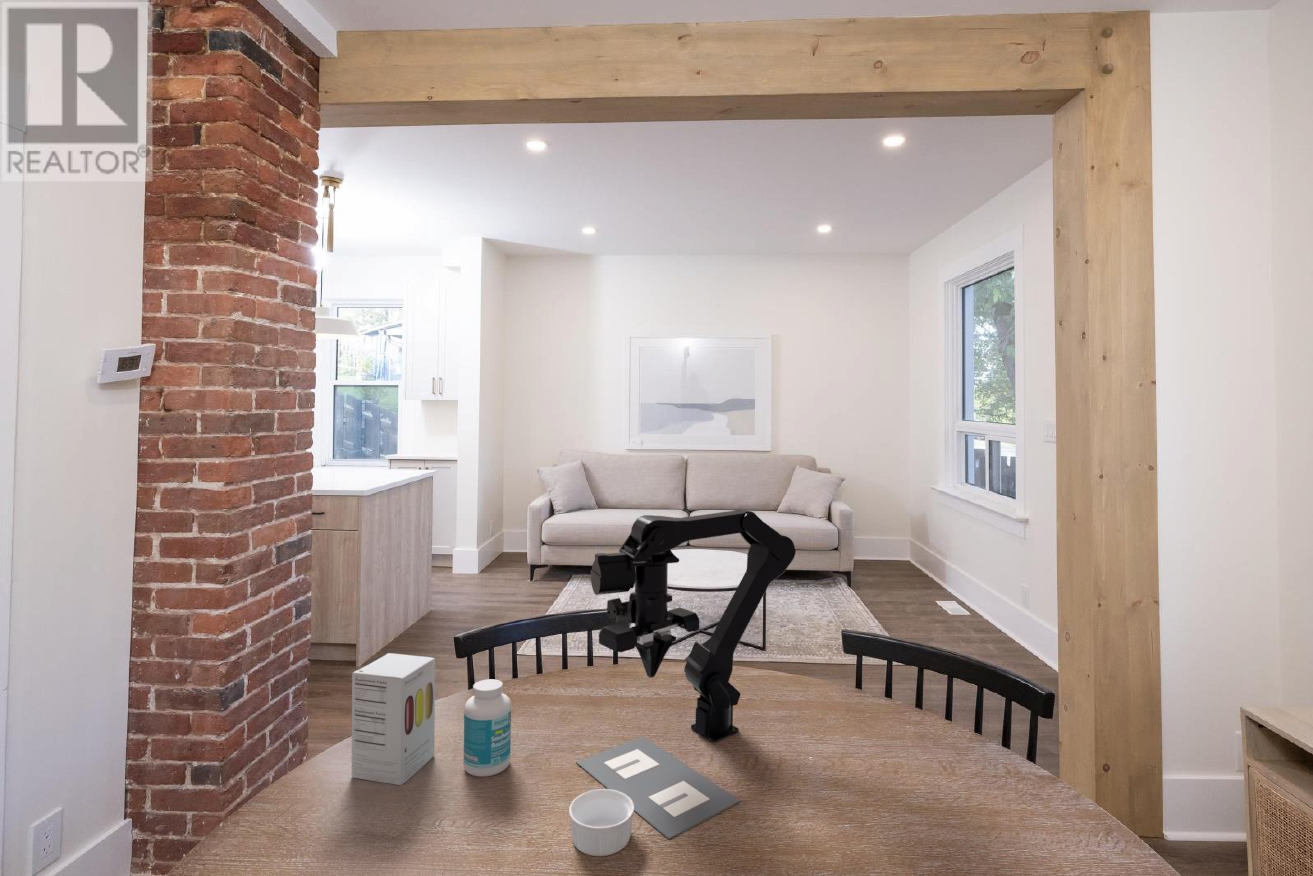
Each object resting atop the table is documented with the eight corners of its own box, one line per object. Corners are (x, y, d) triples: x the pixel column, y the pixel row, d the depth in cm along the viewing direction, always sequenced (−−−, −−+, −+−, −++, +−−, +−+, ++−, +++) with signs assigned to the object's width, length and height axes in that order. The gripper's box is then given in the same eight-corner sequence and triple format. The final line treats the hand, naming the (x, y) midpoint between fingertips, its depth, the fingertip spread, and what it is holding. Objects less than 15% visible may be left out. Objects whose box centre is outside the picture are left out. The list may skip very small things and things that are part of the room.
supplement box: (401, 787, 97) (401, 679, 96) (349, 779, 99) (349, 672, 98) (436, 755, 106) (436, 656, 106) (388, 748, 108) (388, 651, 108)
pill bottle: (498, 782, 99) (498, 696, 98) (454, 776, 100) (455, 692, 100) (518, 757, 106) (518, 677, 106) (477, 751, 107) (477, 673, 107)
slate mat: (643, 737, 113) (643, 735, 113) (740, 801, 94) (740, 799, 94) (576, 763, 104) (576, 761, 104) (668, 839, 86) (668, 837, 86)
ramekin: (556, 849, 84) (556, 817, 83) (588, 811, 92) (588, 782, 92) (616, 868, 80) (617, 835, 80) (644, 827, 88) (644, 797, 88)
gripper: (661, 571, 122) (661, 651, 123) (580, 588, 110) (580, 676, 111) (701, 583, 114) (701, 668, 114) (618, 602, 102) (618, 697, 102)
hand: (650, 676), depth 111 cm, fingers closed
